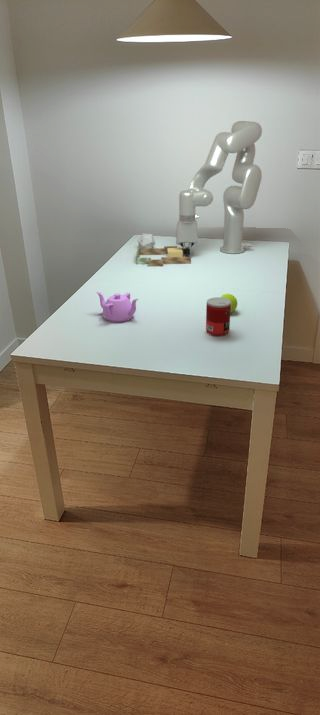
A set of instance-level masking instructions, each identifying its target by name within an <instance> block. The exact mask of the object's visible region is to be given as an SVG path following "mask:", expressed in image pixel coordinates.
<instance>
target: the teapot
mask: <svg viewBox="0 0 320 715" xmlns="http://www.w3.org/2000/svg"><path fill="white" fill-rule="evenodd" d="M95 293H96V294H97V295H98V296H99V297H98V298H99V302H100V307H101V309H102V316H103V317H104V319H105V320H107V321H109V322H111V323H122V322H123V323H124V322H128V321H130V320H131V319H132V318H133V316H134V315H135V313H136V311H137V301H138V300H139V298H135V299H133V300H132V301H131V293H130V292H126V293H125V294H121V293H114V294H113V295H110V296H109V297H108V298H107V300H105V298H104V296H103V294H102V292H99V291H95Z"/></svg>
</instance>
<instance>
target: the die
mask: <svg viewBox="0 0 320 715" xmlns="http://www.w3.org/2000/svg"><path fill="white" fill-rule="evenodd" d="M136 242H137V244H138V247H139V249H148V248H153V247H154V246H155V245H156V241H155V238H154V236H153V233H142V234H141V236H139V237H138V239H137V241H136Z"/></svg>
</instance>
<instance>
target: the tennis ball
mask: <svg viewBox="0 0 320 715" xmlns="http://www.w3.org/2000/svg"><path fill="white" fill-rule="evenodd" d="M220 298H226V299H228V300H230V301H231V310H230V314H231V313H233V312H235V311H236V309H237V308H238V299H237V297H235V296H234V295H233V294H231V293H225V294H223V295H221V296H220Z"/></svg>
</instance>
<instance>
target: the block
mask: <svg viewBox="0 0 320 715" xmlns="http://www.w3.org/2000/svg"><path fill="white" fill-rule="evenodd" d="M182 248H183V247H177V248H167V255H166V257H184V254H183V251H182Z"/></svg>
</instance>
